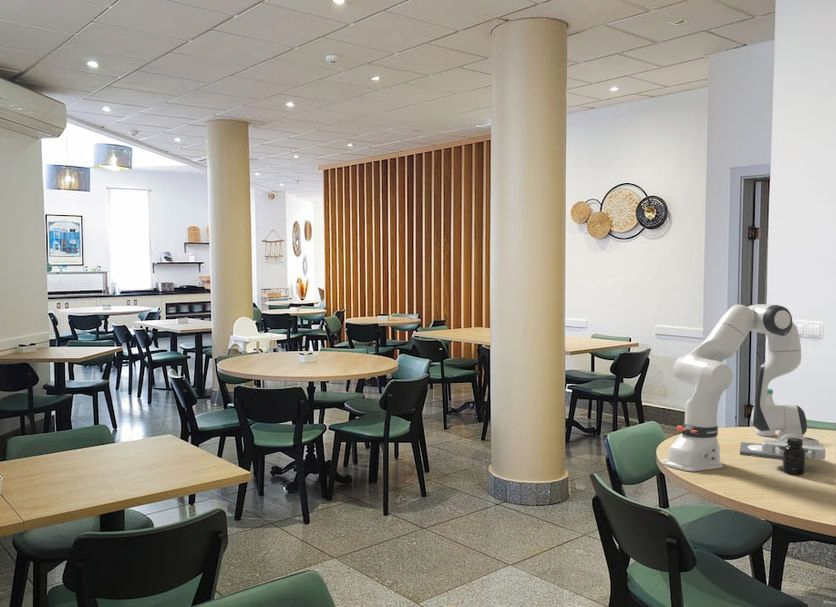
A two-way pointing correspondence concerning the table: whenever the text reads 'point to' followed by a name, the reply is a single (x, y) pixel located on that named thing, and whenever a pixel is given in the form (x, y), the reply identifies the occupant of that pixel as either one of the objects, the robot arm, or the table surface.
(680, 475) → the table surface
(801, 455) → the supplement bottle
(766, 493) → the table surface
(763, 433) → the milk bottle
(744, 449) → the charging pad
